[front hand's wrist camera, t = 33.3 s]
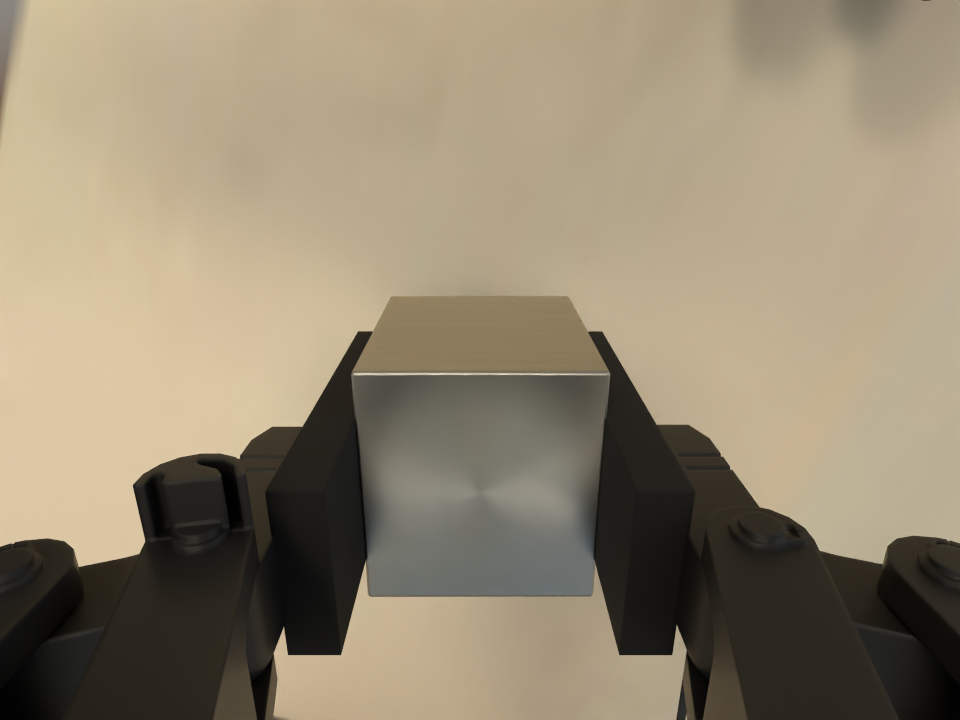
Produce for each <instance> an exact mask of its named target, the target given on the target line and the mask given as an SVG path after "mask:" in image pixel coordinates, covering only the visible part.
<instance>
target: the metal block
mask: <svg viewBox="0 0 960 720" xmlns="http://www.w3.org/2000/svg"><path fill="white" fill-rule="evenodd" d="M351 377H352V390H353V403H354V416H355V425H356V438H357V451H358V464H359V478H360V491H361V504H362V517H363V530H364V543H365V556H366V573H367V586H368V594H369V596H371V597H425V596H592V594H593V586H594V573H595V549H596V536H597V523H598V510H599V497H600V484H601V471H602V458H603V445H604V432H605V419H606V418H607V408H608V395H609V382H610V372H609V370H608V368H607V367H606V365H605V363H604V361H603V359H602V357H601V356H600V354H599V352H598V350H597V348H596V346H595V344H594V343H593V341H592V339H591V337H590V335H589V333H588V332H587V330H586V328H585V326H584V324H583V322H582V320H581V319H580V317H579V315H578V313H577V311H576V309H575V307H574V306H573V304H572V302H571V300H570V298H569V297H567V296H477V297H476V296H475V297H391V298H390V300H389V302H388V304H387V306H386V308H385V310H384V311H383V313H382V315H381V317H380V319H379V321H378V323H377V325H376V327H375V329H374V331H373V333H372V335H371V337H370V338H369V340H368V342H367V344H366V346H365V348H364V350H363V352H362V354H361V356H360V358H359V360H358V362H357V364H356V365H355V367H354V369H353V371H352V374H351Z"/></svg>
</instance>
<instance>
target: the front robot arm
mask: <svg viewBox="0 0 960 720" xmlns="http://www.w3.org/2000/svg"><path fill="white" fill-rule="evenodd" d="M372 333H373V332H358V333H357V335H356V336H355V338H354V340H353V341H352V343H351V345H350V347H349V348H348V350H347V352H346V353H345V355H344V357H343V359H342V360H341V362H340V364H339V365H338V367H337V369H336V371H335V372H334V374H333V376H332V377H331V379H330V381H329V383H328V384H327V386H326V388H325V389H324V391H323V393H322V395H321V396H320V398H319V400H318V401H317V403H316V405H315V407H314V408H313V410H312V412H311V414H310V415H309V417H308V419H307V420H306V422H305V424H304V426H303V427H271V428H270V429H268V430H267V431H265V432H264V433H262V434H260V435H259V436H257V437H256V438H254V439H253V440H251V442H250V443H249V444H248V446H247V447H246V448H245V450H244V451H243V453H242V454H241V455H240V459H237V458H236V457H232V456H228V455H224V454H197V455H191V456H186V457H180V458H177V459H174V460H172V461H169V462H166V463H163V464H160V465H158V466H157V467H155V468H153V469H151V470H150V471H148V472H146V473H144V474H143V475H142V476H141V477H140V478H139V479H138V480H137V481H136V482H135V483H134V484H133V488H134V493H135V497H136V501H137V506H138V510H139V515H140V519H141V523H142V528H143V532H144V536H145V544H144V546H143V548H142V550H141V552H140V554H138V555H134V556H130V557H126V558H122V559H117V560H112V561H107V562H102V563H97V564H92V565H87V566H82V567H78V563H77V560H76V556H75V552H74V549H73V548H72V547H71V546H69V545H68V544H67V543H66V542H64V541H59V540H53V539H38V540H25V541H20V542H15V543H14V544H12V543H11V544H8V545H5V546H2V547H0V720H273V713H274V704H275V696H276V687H277V674H276V667H275V660H274V654H273V653H274V651H275V648H276V645H277V643H278V640H279V638H280V635H281V633H282V630H283V627H284V629H285V636H286V643H287V650H288V655H341V653H342V649H343V645H344V641H345V638H346V634H347V630H348V626H349V622H350V618H351V615H352V611H353V607H354V603H355V599H356V595H357V592H358V588H359V584H360V580H361V576H362V572H363V569H364V565H365V561H366V556H365V543H364V530H363V517H362V504H361V491H360V478H359V464H358V451H357V438H356V425H355V416H354V403H353V390H352V377H351V374H352V371H353V369H354V367H355V365H356V364H357V362H358V360H359V358H360V356H361V354H362V352H363V350H364V348H365V346H366V344H367V342H368V340H369V338H370V337H371V335H372ZM588 333H589V335H590V337H591V339H592V341H593V343H594V344H595V346H596V348H597V350H598V352H599V354H600V356H601V357H602V359H603V361H604V363H605V365H606V367H607V368H608V370H609V372H610V382H609V395H608V408H607V418H606V419H605V432H604V445H603V458H602V471H601V484H600V497H599V510H598V523H597V536H596V549H595V563H596V567H597V571H598V575H599V579H600V582H601V586H602V590H603V594H604V598H605V602H606V605H607V609H608V613H609V617H610V621H611V625H612V628H613V632H614V636H615V640H616V644H617V647H618V651H619V655H672V653H673V646H674V639H675V632H676V625H677V626H678V628H679V631H680V633H681V636H682V639H683V641H684V644H685V646H686V649H687V654H686V660H685V667H684V673H683V680H682V686H681V693H680V699H679V706H678V713H677V720H685V718H686V712H687V720H960V543H956V542H953V541H950V542H949V541H947V540H946V539H941V538H934V537H922V536H909V537H904V538H898V539H896V540H895V541H893V542H892V543H891V544H890V545H889V546H888V547H887V551H886V554H885V558H884V561H883V564H878V563H873V562H868V561H862V560H857V559H852V558H847V557H842V556H837V555H833V554H829V553H826V552H822V551H819V549H818V547H817V545H816V542H815V540H814V539H813V538H812V537H811V535H810V534H809V533H808V532H807V530H806V529H805V528H804V527H802V526H801V525H799V524H798V523H796V522H795V521H794V520H792V519H791V518H789V517H787V516H784V515H782V514H779V513H777V512H774V511H772V510H769V509H765V508H760V507H759V506H758V505H757V503H756V502H755V500H754V499H753V498H752V496H751V495H750V494H749V492H748V491H747V489H746V488H745V487H744V485H743V484H742V483H741V481H740V480H739V478H738V477H737V476H736V474H735V473H734V472H733V470H730V466H729V465H728V463H727V462H726V461H725V459H724V458H723V457H721V454H720V452H719V451H718V449H717V448H716V447H715V445H714V444H713V443H712V441H711V440H710V438H708V437H707V436H705V435H703V434H702V433H700V432H699V431H697V430H696V429H694V428H692V427H691V426H689V425H656V423H655V421H654V420H653V418H652V416H651V415H650V413H649V411H648V409H647V408H646V406H645V404H644V403H643V401H642V399H641V397H640V396H639V394H638V392H637V391H636V389H635V387H634V385H633V384H632V382H631V380H630V379H629V377H628V375H627V373H626V372H625V370H624V368H623V367H622V365H621V363H620V361H619V360H618V358H617V356H616V355H615V353H614V351H613V349H612V348H611V346H610V344H609V343H608V341H607V339H606V337H605V336H604V334H603V332H588Z"/></svg>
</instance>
